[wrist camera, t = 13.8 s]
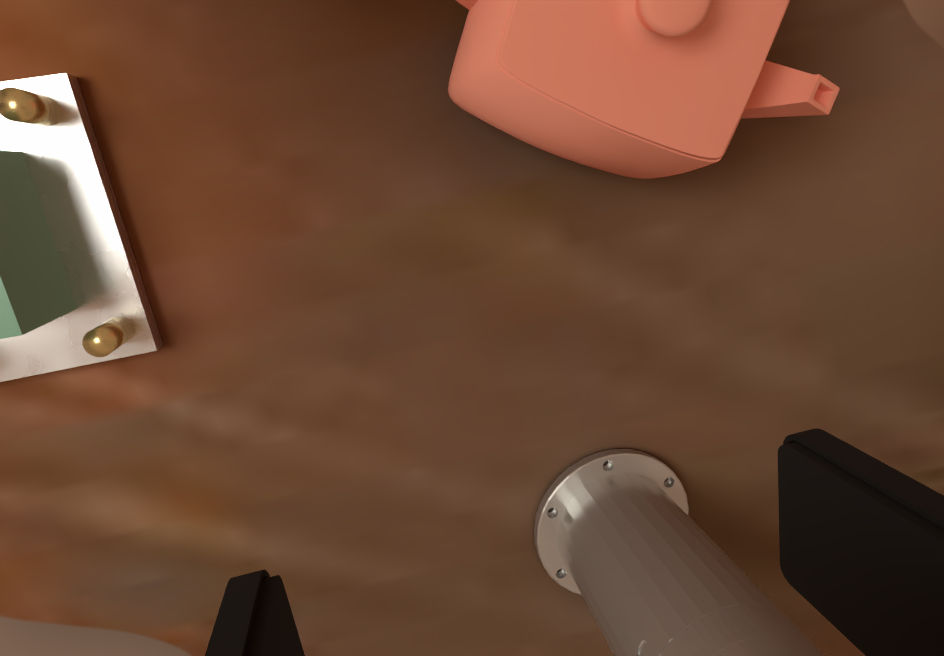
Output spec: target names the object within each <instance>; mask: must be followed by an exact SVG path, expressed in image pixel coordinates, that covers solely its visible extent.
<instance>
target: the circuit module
mask: <svg viewBox="0 0 944 656" xmlns="http://www.w3.org/2000/svg"><path fill="white" fill-rule="evenodd" d="M76 309H77V308H76V305H75V302H74V299H73V296H72V293H71V290H70V288H69V285H68V282H67V279H66V276H65V273H64V270H63V267H62V264H61V261H60V258H59V256H58V253H57V250H56V247H55V244H54V241H53V238H52V235H51V232H50V229H49V226H48V224H47V221H46V218H45V215H44V212H43V209H42V206H41V203H40V200H39V197H38V194H37V192H36V189H35V186H34V183H33V180H32V177H31V174H30V171H29V168H28V165H27V162H26V160H25V157H24V154H23V152H17V151H3V150H0V339H4V338H9V337H15V336H20V335H24V334H26V333H28V332H30V331H32V330H34V329H36V328H38V327H41V326H43V325H45V324H47V323H49V322H51V321H53V320H55V319H57V318H59V317H62V316H64V315H66V314H68V313H70V312H72V311H74V310H76Z"/></svg>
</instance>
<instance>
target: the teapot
mask: <svg viewBox="0 0 944 656" xmlns="http://www.w3.org/2000/svg"><path fill="white" fill-rule="evenodd" d="M455 1H457V2H458V3H460V4H461V5H462V6H464V7H465V8H467V9H468V10H469V13H468V16H467V19H466V23H465V26H464V29H463V33H462V36H461V39H460V43H459V46H458V50H457V53H456V57H455V61H454V64H453V68H452V72H451V75H450V79H449V86H448V93H449V96H450V98H451V99H452V101H453V102H454V103H455V104H456V105H458V106H459V107H460V108H461V109H463V110H465V111H466V112H468V113H470V114H472V115H473V116H475V117H477V118H479V119H481V120H482V121H484V122H486V123H488V124H490V125H492V126H494V127H496V128H497V129H499V130H501V131H503V132H505V133H507V134H509V135H511V136H513V137H515V138H517V139H519V140H521V141H523V142H526V143H528V144H530V145H532V146H534V147H537V148H539V149H541V150H544V151H546V152H549V153H551V154H554V155H556V156H559V157H562V158H564V159H567V160H570V161H573V162H576V163H579V164H582V165H586V166H589V167H592V168H595V169H599V170H602V171H606V172H609V173H613V174H618V175H622V176H626V177H632V178H640V179H651V178H660V177H666V176H672V175H677V174H682V173H685V172H689V171H692V170H695V169H698V168H701V167H705V166H708V165H710V164H713V163H715V162H717V161H720V160H721V158H722V156H723V155H724V153H725V151H726V149H727V147H728V145H729V143H730V141H731V139H732V137H733V134H734V132H735V130H736V128H737V125H738V123H739V121H740V119H742V118H767V117H791V116H815V115H829V113H830V111H831V108H832V106H833V104H834V101H835V99H836V97H837V94H838V92H839V90H840V88H839V87H838V86H836V85H835V84H833V83H832V82H830V81H829V80H827V79H826V78H824V77H823V76H821V75H820V74H817V75H813V74H810V73H806V72H803V71H800V70H796V69H793V68H790V67H786V66H783V65H780V64H776V63H773V62H770V61H766V57H767V55H768V53H769V50H770V48H771V45H772V43H773V41H774V38H775V36H776V33H777V31H778V29H779V26H780V24H781V21H782V19H783V17H784V14H785V12H786V9H787V7H788V4H789V2H790V0H455Z"/></svg>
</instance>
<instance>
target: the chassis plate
mask: <svg viewBox="0 0 944 656" xmlns="http://www.w3.org/2000/svg"><path fill="white" fill-rule="evenodd" d="M0 150H3V151H17V152H23V154H24V157H25V160H26V162H27V165H28V168H29V171H30V174H31V177H32V180H33V183H34V186H35V189H36V192H37V194H38V197H39V200H40V203H41V206H42V209H43V212H44V215H45V218H46V221H47V224H48V226H49V229H50V232H51V235H52V238H53V241H54V244H55V247H56V250H57V253H58V256H59V258H60V261H61V264H62V267H63V270H64V273H65V276H66V279H67V282H68V285H69V288H70V290H71V293H72V296H73V299H74V302H75V305H76V308H77V309H76V310H74V311H72V312H70V313H68V314H66V315H64V316H62V317H59V318H57V319H55V320H53V321H51V322H49V323H47V324H45V325H43V326H41V327H38V328H36V329H34V330H32V331H30V332H28V333H26V334H24V335H20V336H15V337H9V338H4V339H0V382H3V381H8V380H13V379H18V378H23V377H28V376H33V375H38V374H43V373H48V372H53V371H58V370H63V369H68V368H73V367H78V366H83V365H88V364H93V363H98V362H103V361H108V360H113V359H118V358H123V357H128V356H133V355H138V354H143V353H148V352H153V351H157V350H158V349H159V348H161V347H162V346H163V343H162V340H161V337H160V334H159V331H158V328H157V325H156V322H155V319H154V316H153V312H152V309H151V306H150V303H149V300H148V297H147V294H146V291H145V288H144V285H143V282H142V278H141V275H140V272H139V269H138V266H137V263H136V260H135V257H134V254H133V251H132V248H131V244H130V241H129V238H128V235H127V232H126V229H125V226H124V223H123V220H122V217H121V214H120V210H119V207H118V204H117V201H116V198H115V195H114V192H113V189H112V186H111V183H110V180H109V176H108V173H107V170H106V167H105V164H104V161H103V158H102V155H101V152H100V149H99V146H98V142H97V139H96V136H95V133H94V130H93V127H92V124H91V121H90V118H89V115H88V112H87V108H86V105H85V102H84V99H83V96H82V93H81V90H80V87H79V84H78V81H77V78H76V76H73V75H70V74H67V73H63V74H55V75H48V76H41V77H33V78H26V79H19V80H11V81H4V82H0Z"/></svg>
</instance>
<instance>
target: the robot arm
mask: <svg viewBox="0 0 944 656" xmlns="http://www.w3.org/2000/svg"><path fill="white" fill-rule="evenodd" d="M778 486H779V535H780V566H781V569H782V572H783V574H784V577H785V578H786V580H787V581H788V582H789V584H790V585H791V586H792V587H793V588H794V589H796V590H797V591H798V592H799V593H800V594H801V595H802V596H803V597H804V598H805V599H806V600H807V601H808V602H809V603H810V604H811V605H813V606H814V607H815V608H816V609H817V610H818V611H819V612H820V613H821V614H822V615H823V616H824V617H825V618H826V619H827V620H829V621H830V622H831V623H832V624H833V625H834V626H835V627H836V628H837V629H838V630H839V631H840V632H841V633H842V634H843V635H844V636H846V637H847V638H848V639H849V640H850V641H851V642H852V643H853V644H854V645H855V646H856V647H857V648H858V649H859V650H860V651H861V652H863V653H864V654H865V655H866V656H944V496H943V495H941V494H940V493H938V492H936V491H934V490H932V489H930V488H929V487H927V486H925V485H923V484H921V483H919V482H917V481H916V480H914V479H912V478H910V477H908V476H906V475H905V474H903V473H901V472H899V471H897V470H895V469H894V468H892V467H890V466H888V465H886V464H884V463H883V462H881V461H879V460H877V459H875V458H873V457H871V456H870V455H868V454H866V453H864V452H862V451H860V450H859V449H857V448H855V447H853V446H851V445H849V444H848V443H846V442H844V441H842V440H840V439H838V438H836V437H835V436H833V435H831V434H829V433H827V432H825V431H824V430H821V429H811V430H807V431H803V432H799V433H796V434H792V435H789V436H787V437H786V438H785V440H784V442H783V445H782V446H780V447H779V449H778ZM534 541H535V546H536V549H537V553H538V556H539V558H540V560H541V562H542V564H543V566H544V568H545V569H546V571H547V572H548V574H549V575H550V577H551V578H552V579H554V580H555V581H556V582H557V583H558V584H559V585H560V586H562V587H564V588H565V589H567V590H569V591H571V592H573V593H576V594H580V595H582V596H583V598H584V600H585V602H586V603H587V605H588V607H589V609H590V611H591V613H592V615H593V616H594V618H595V620H596V622H597V624H598V626H599V628H600V629H601V631H602V633H603V635H604V637H605V639H606V641H607V642H608V646H609V648H610V650H612V652H613V653H614V655H615V656H826V655H825V654H824V653H823V652H822V651H821V650H820V649H819V648H818V647H817V646H816V645H815V644H814V643H813V642H812V641H811V640H810V639H809V638H808V637H807V636H806V635H805V634H804V633H803V632H802V631H801V630H800V629H799V628H798V627H797V626H796V625H795V624H794V623H793V622H792V621H791V620H790V619H789V618H788V617H787V616H786V615H785V614H784V613H783V612H782V611H781V610H780V609H779V608H778V607H777V606H776V605H775V604H774V603H773V602H772V601H771V600H770V599H769V598H768V596H767V595H766V594H765V593H764V592H763V591H762V590H761V589H760V588H759V587H758V586H757V585H756V584H755V583H754V582H753V581H752V580H751V579H750V578H749V577H748V576H747V575H746V574H745V573H744V572H743V571H742V570H741V569H740V568H739V567H738V566H737V565H736V564H735V563H734V562H733V561H732V560H731V559H730V558H729V557H728V556H727V555H726V554H725V553H724V552H723V551H722V550H721V549H720V548H719V547H718V546H717V545H716V544H715V543H714V542H713V540H712V539H711V538H710V537H709V536H708V535H707V534H706V533H705V532H704V531H703V530H702V529H701V528H700V527H699V526H698V525H697V524H696V523H695V522H694V521H693V520H692V519H691V518H690V517H689V506H688V500H687V495H686V492H685V490H684V488H683V485H682V483H681V481H680V480H679V479H678V477H677V476H676V474H675V473H674V472H673V471H672V470H671V469H670V468H669V467H668V466H667V465H666V464H664V463H663V462H662V461H660V460H659V459H657V458H656V457H654V456H652V455H650V454H647V453H645V452H642V451H637V450H632V449H611V450H606V451H601V452H598V453H595V454H592V455H590V456H587V457H585V458H583V459H581V460H580V461H578V462H576V463H575V464H573V465H571V466H570V467H569V468H568V469H566V470H565V471H564V472H563V473H562V474H561V475H559V476H558V478H557V479H556V480H555V481H554V482H553V483H552V485H551V486H550V487H549V488H548V490H547V492H546V494H545V495H544V497H543V499H542V500H541V503H540V505H539V508H538V511H537V514H536V519H535V525H534ZM205 656H305V655H304V651H303V648H302V645H301V641H300V638H299V635H298V631H297V628H296V625H295V621H294V618H293V615H292V611H291V608H290V605H289V601H288V598H287V595H286V591H285V588H284V585H283V582H282V579H281V577H280V576H279V575H277V576H273V577H270V576H269V574H268V572H267V571H266V570H260V571H257V572H253V573H249V574H245V575H241V576H237V577H233V578H231V579H230V580H229V582H228V584H227V587H226V590H225V594H224V597H223V600H222V603H221V606H220V609H219V613H218V616H217V619H216V622H215V625H214V628H213V632H212V635H211V638H210V641H209V644H208V648H207V651H206V654H205Z"/></svg>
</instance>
